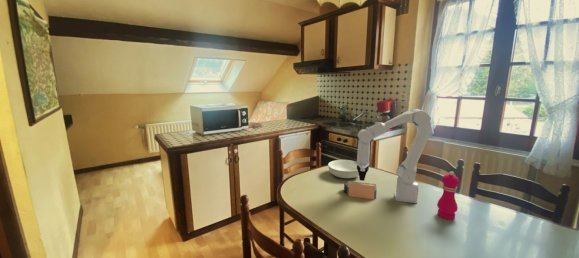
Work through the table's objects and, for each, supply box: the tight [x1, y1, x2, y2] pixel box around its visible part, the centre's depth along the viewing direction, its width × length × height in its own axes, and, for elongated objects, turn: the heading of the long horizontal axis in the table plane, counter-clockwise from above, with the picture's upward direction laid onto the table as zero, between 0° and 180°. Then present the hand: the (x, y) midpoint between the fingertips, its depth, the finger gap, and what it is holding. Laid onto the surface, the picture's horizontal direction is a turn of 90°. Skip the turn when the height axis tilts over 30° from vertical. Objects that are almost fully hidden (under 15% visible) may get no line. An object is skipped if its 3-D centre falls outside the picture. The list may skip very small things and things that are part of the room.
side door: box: [348, 183, 375, 201], centre depth 118 cm, size 12×1×7 cm, turn 73°
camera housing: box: [343, 180, 378, 200], centre depth 123 cm, size 16×8×5 cm, turn 73°
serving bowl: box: [327, 159, 359, 179], centre depth 147 cm, size 21×21×7 cm
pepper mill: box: [436, 171, 460, 221], centre depth 101 cm, size 7×7×20 cm
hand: (361, 180), depth 120 cm, fingers closed
